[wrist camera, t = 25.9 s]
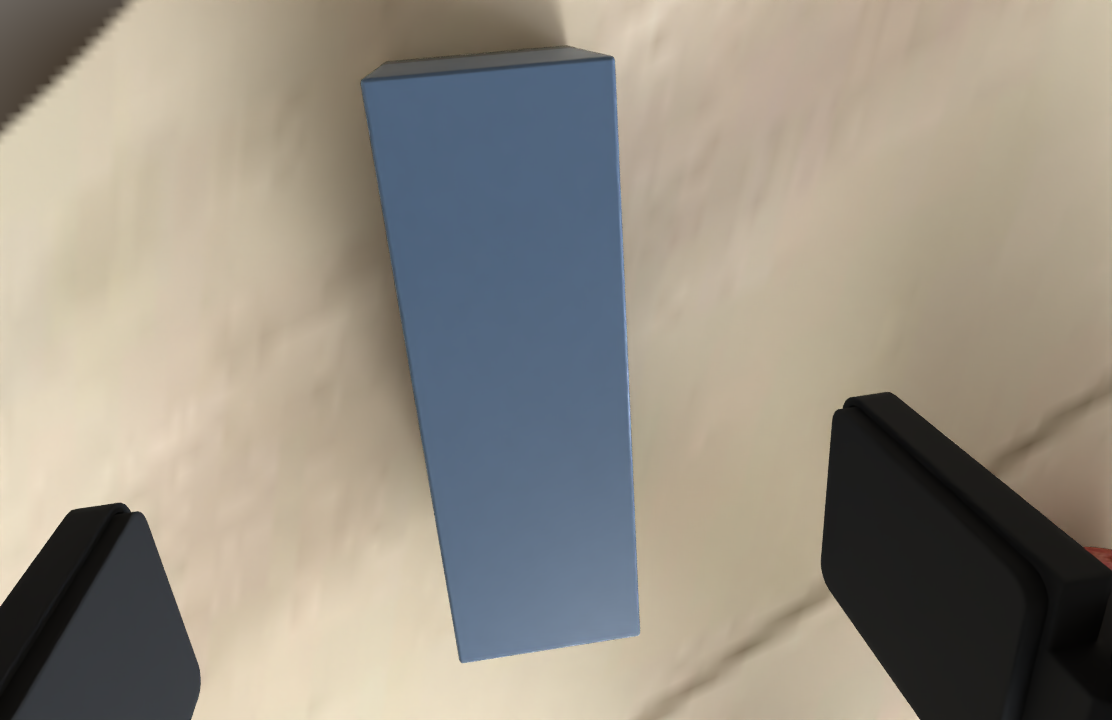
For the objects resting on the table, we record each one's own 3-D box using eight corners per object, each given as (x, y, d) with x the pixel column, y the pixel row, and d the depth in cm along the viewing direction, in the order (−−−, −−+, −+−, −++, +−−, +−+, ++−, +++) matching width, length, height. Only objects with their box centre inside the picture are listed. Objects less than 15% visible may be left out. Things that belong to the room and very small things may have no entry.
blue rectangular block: (598, 503, 22) (641, 636, 17) (457, 523, 22) (459, 665, 17) (568, 45, 17) (615, 55, 12) (384, 62, 17) (359, 78, 12)
